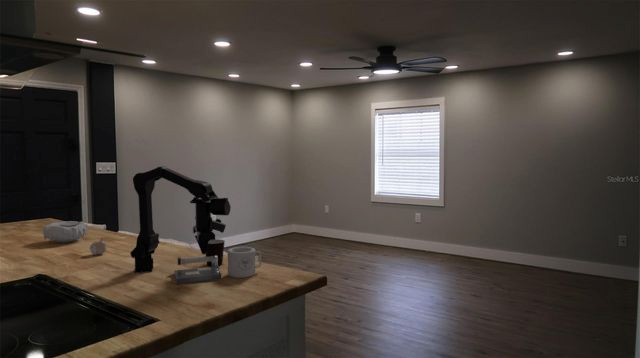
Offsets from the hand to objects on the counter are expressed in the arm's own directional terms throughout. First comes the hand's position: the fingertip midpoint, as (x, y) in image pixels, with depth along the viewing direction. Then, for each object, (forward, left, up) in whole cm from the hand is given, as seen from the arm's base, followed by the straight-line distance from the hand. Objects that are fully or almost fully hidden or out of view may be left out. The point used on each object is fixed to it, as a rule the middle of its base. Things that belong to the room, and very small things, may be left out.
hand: (203, 254), depth 173 cm
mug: (+15, -6, -8) cm, 18 cm away
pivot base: (+5, +5, -8) cm, 11 cm away
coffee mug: (+7, +14, -8) cm, 18 cm away
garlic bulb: (-41, +51, -8) cm, 66 cm away
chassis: (-3, -4, -8) cm, 9 cm away
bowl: (-59, +89, -8) cm, 107 cm away
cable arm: (-2, +6, -7) cm, 9 cm away
